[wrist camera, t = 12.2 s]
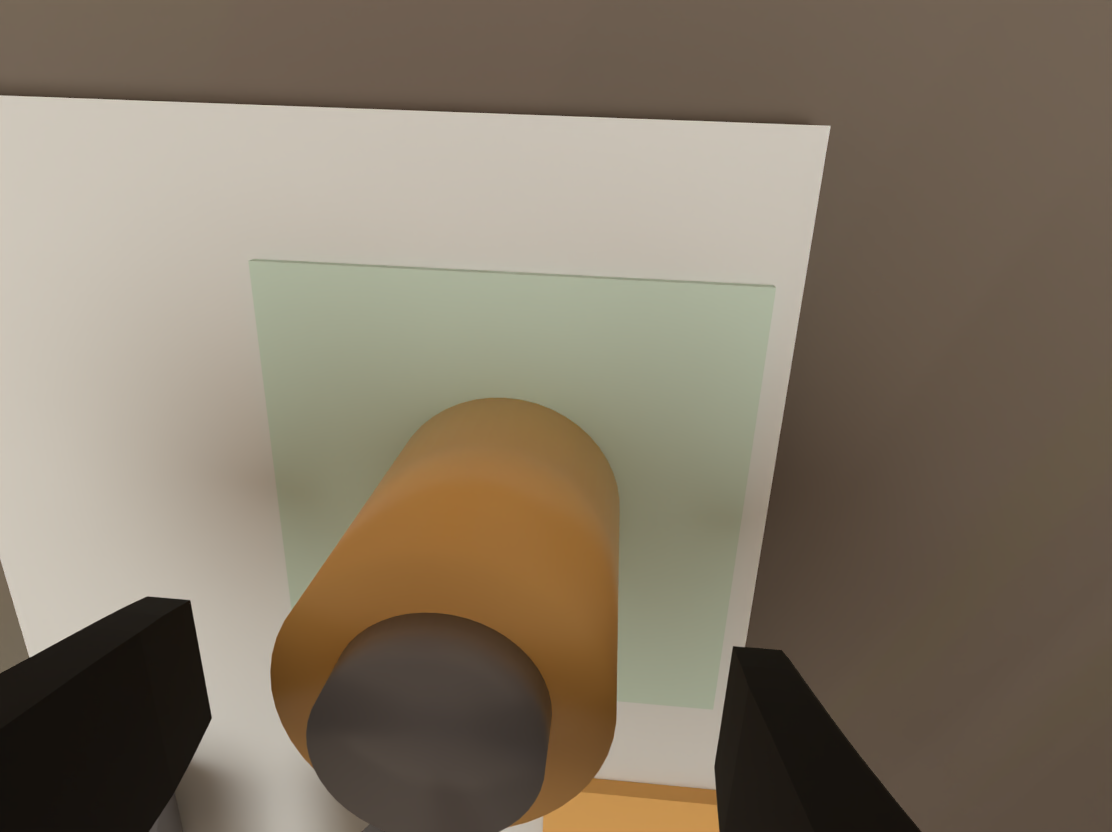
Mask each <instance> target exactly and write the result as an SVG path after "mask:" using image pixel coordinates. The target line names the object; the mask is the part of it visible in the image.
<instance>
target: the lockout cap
mask: <svg viewBox="0 0 1112 832" xmlns="http://www.w3.org/2000/svg"><path fill="white" fill-rule="evenodd" d="M619 515H620V506H619V493H618V487H617V483H616V480H615V477H614V473H613V471H612V469H611V467H610V465H609V462H608V460H607V459H606V457H605V455H604V454H603V452H602V451H601V449H600V448H599V446H598V445H597V444H596V443H595V442H594V441H593V439H592V438H591V437H590V436H589V435H588V434H587V433H586V432H585V431H584V430H582V429H581V428H580V427H579V426H578V425H577V424H575V423H574V422H572V421H571V420H569V419H568V418H567V417H565V416H563V415H561V414H559V413H558V412H556V411H554V410H552V409H549V408H547V407H544V406H542V405H539V404H536V403H532V402H528V401H524V400H519V399H511V398H484V399H476V400H471V401H468V402H464V403H460V404H457V405H455V406H452V407H450V408H448V409H445V410H444V411H442V412H440V413H438V414H437V415H435V416H433V417H432V418H431V419H429V420H428V421H427V422H426V423H424V424H423V425H422V426H421V427H420V428H419V429H418V430H417V431H416V432H415V433H414V434H413V435H412V437H411V438H410V440H409V441H408V442H407V444H406V445H405V447H404V448H403V450H402V451H401V453H400V454H399V455H398V457H397V458H396V460H395V461H394V463H393V464H392V466H391V467H390V468H389V470H388V471H387V473H386V474H385V476H384V477H383V479H382V480H381V481H380V483H379V484H378V486H377V487H376V489H375V490H374V492H373V493H372V495H371V496H370V497H369V499H368V500H367V502H366V503H365V505H364V506H363V508H362V509H361V510H360V512H359V513H358V515H357V516H356V518H355V519H354V521H353V522H352V523H351V525H350V526H349V528H348V529H347V531H346V532H345V534H344V535H343V536H342V538H341V539H340V541H339V542H338V544H337V545H336V547H335V548H334V549H333V551H332V552H331V554H330V555H329V557H328V558H327V560H326V561H325V563H324V564H323V565H322V567H321V568H320V570H319V571H318V573H317V574H316V576H315V577H314V578H313V580H312V581H311V583H310V584H309V586H308V587H307V589H306V590H305V591H304V593H303V594H302V596H301V597H300V599H299V600H298V602H297V603H296V604H295V606H294V607H293V609H292V610H291V612H290V613H289V615H288V616H287V617H286V619H285V620H284V622H283V624H282V627H281V629H280V631H279V633H278V635H277V637H276V641H275V645H274V648H273V652H272V658H271V668H270V678H271V691H272V695H273V699H274V704H275V708H276V710H277V713H278V716H279V718H280V721H281V723H282V726H283V727H284V729H285V731H286V733H287V735H288V736H289V738H290V740H291V742H292V743H293V744H294V746H295V747H296V749H297V750H298V751H299V753H300V754H301V755H302V757H303V758H304V759H305V760H306V761H307V762H308V763H309V764H310V766H311V767H312V768H313V769H314V770H315V772H316V774H317V776H318V778H319V779H320V781H321V782H322V784H323V785H324V786H325V788H326V789H327V791H328V792H329V793H330V794H331V795H332V796H333V797H334V798H335V799H336V800H337V801H338V802H339V803H340V804H341V805H342V806H344V807H345V808H346V809H347V810H348V811H350V812H351V813H353V814H354V815H355V816H357V817H358V818H360V819H361V820H363V821H365V822H367V823H368V824H370V825H372V826H374V827H376V828H379V829H381V830H383V831H385V832H500V831H501V830H503V829H505V828H508V827H512V826H515V825H519V824H523V823H527V822H529V821H532V820H535V819H537V818H540V817H543V816H545V815H547V814H549V813H551V812H552V811H554V810H556V809H558V808H560V807H562V806H563V805H564V804H566V803H567V802H569V801H570V800H571V799H573V798H574V797H576V796H577V795H578V794H579V793H580V792H581V791H582V790H583V789H584V788H585V787H586V786H587V785H588V784H589V783H590V782H591V781H592V779H593V778H594V777H595V775H596V774H597V773H598V772H599V770H600V768H601V767H602V765H603V763H604V761H605V759H606V757H607V756H608V753H609V750H610V747H611V744H612V742H613V739H614V733H615V727H616V719H617V651H618V583H619Z"/></svg>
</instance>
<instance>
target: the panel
mask: <svg viewBox="0 0 1112 832" xmlns="http://www.w3.org/2000/svg"><path fill="white" fill-rule="evenodd" d="M829 132H830V126H820V125H793V124H765V123H738V122H711V121H683V120H656V119H629V118H602V117H574V116H547V115H520V114H492V113H465V112H438V111H411V110H383V109H356V108H329V107H301V106H274V105H247V104H220V103H192V102H165V101H138V100H110V99H83V98H56V97H29V96H1V95H0V559H1V563H2V566H3V569H4V573H5V576H6V580H7V583H8V586H9V590H10V593H11V596H12V600H13V603H14V607H15V610H16V613H17V617H18V620H19V623H20V627H21V630H22V634H23V637H24V640H25V644H26V647H27V650H28V654H29V657H32V656H34V655H35V654H37V653H39V652H41V651H43V650H45V649H46V648H48V647H50V646H52V645H54V644H56V643H57V642H59V641H61V640H63V639H65V638H67V637H68V636H70V635H72V634H74V633H76V632H78V631H80V630H81V629H83V628H85V627H87V626H89V625H91V624H93V623H94V622H96V621H98V620H100V619H102V618H104V617H106V616H108V615H110V614H112V613H114V612H116V611H117V610H119V609H121V608H123V607H126V606H128V605H130V604H132V603H134V602H136V601H138V600H140V599H143V598H145V597H147V596H149V597H161V598H172V599H184V600H190V601H191V606H192V612H193V617H194V623H195V628H196V634H197V639H198V645H199V650H200V655H201V661H202V666H203V672H204V677H205V683H206V688H207V694H208V699H209V705H210V710H211V715H212V719H211V721H210V724H209V726H208V728H207V730H206V732H205V734H204V736H203V738H202V740H201V742H200V744H199V746H198V748H197V750H196V752H195V754H194V756H193V758H192V760H191V762H190V764H189V766H188V768H187V770H186V772H185V774H184V775H183V777H182V779H181V781H180V783H179V785H178V787H177V789H176V791H175V796H176V801H177V805H178V810H179V814H180V819H181V823H182V828H183V832H361V831H363V830H364V829H365V828H366V827H367V826H368V825H369V824H368V823H367V822H365V821H363V820H361V819H360V818H358V817H357V816H355V815H354V814H353V813H351V812H350V811H348V810H347V809H346V808H345V807H344V806H342V805H341V804H340V803H339V802H338V801H337V800H336V799H335V798H334V797H333V796H332V795H331V794H330V793H329V792H328V791H327V789H326V788H325V786H324V785H323V784H322V782H321V781H320V779H319V778H318V776H317V774H316V772H315V770H314V769H313V768H312V767H311V766H310V764H309V763H308V762H307V761H306V760H305V759H304V758H303V757H302V755H301V754H300V753H299V751H298V750H297V749H296V747H295V746H294V744H293V743H292V742H291V740H290V738H289V736H288V735H287V733H286V731H285V729H284V727H283V726H282V723H281V721H280V718H279V716H278V713H277V710H276V708H275V704H274V699H273V695H272V691H271V678H270V668H271V658H272V652H273V648H274V645H275V641H276V637H277V635H278V633H279V631H280V629H281V627H282V624H283V622H284V620H285V619H286V617H287V616H288V615H289V613H290V612H291V610H292V609H293V607H294V606H295V604H296V603H297V602H298V600H299V599H300V597H301V596H302V594H303V593H304V591H305V590H306V589H307V587H308V586H309V584H310V583H311V581H312V580H313V578H314V577H315V576H316V574H317V573H318V571H319V570H320V568H321V567H322V565H323V564H324V563H325V561H326V560H327V558H328V557H329V555H330V554H331V552H332V551H333V549H334V548H335V547H336V545H337V544H338V542H339V541H340V539H341V538H342V536H343V535H344V534H345V532H346V531H347V529H348V528H349V526H350V525H351V523H352V522H353V521H354V519H355V518H356V516H357V515H358V513H359V512H360V510H361V509H362V508H363V506H364V505H365V503H366V502H367V500H368V499H369V497H370V496H371V495H372V493H373V492H374V490H375V489H376V487H377V486H378V484H379V483H380V481H381V480H382V479H383V477H384V476H385V474H386V473H387V471H388V470H389V468H390V467H391V466H392V464H393V463H394V461H395V460H396V458H397V457H398V455H399V454H400V453H401V451H402V450H403V448H404V447H405V445H406V444H407V442H408V441H409V440H410V438H411V437H412V435H413V434H414V433H415V432H416V431H417V430H418V429H419V428H420V427H421V426H422V425H423V424H424V423H426V422H427V421H428V420H429V419H431V418H432V417H433V416H435V415H437V414H438V413H440V412H442V411H444V410H445V409H448V408H450V407H452V406H455V405H457V404H460V403H464V402H468V401H471V400H476V399H484V398H511V399H519V400H524V401H528V402H532V403H536V404H539V405H542V406H544V407H547V408H549V409H552V410H554V411H556V412H558V413H559V414H561V415H563V416H565V417H567V418H568V419H569V420H571V421H572V422H574V423H575V424H577V425H578V426H579V427H580V428H581V429H582V430H584V431H585V432H586V433H587V434H588V435H589V436H590V437H591V438H592V439H593V441H594V442H595V443H596V444H597V445H598V446H599V448H600V449H601V451H602V452H603V454H604V455H605V457H606V459H607V460H608V462H609V465H610V467H611V469H612V471H613V473H614V477H615V480H616V483H617V487H618V493H619V506H620V515H619V583H618V651H617V719H616V727H615V733H614V739H613V742H612V744H611V747H610V750H609V753H608V756H607V757H606V759H605V761H604V763H603V765H602V767H601V768H600V770H599V772H598V773H597V774H596V775H595V777H594V778H593V779H592V781H591V782H590V783H589V784H588V785H587V786H586V787H585V788H584V789H583V790H582V791H581V792H580V793H579V794H578V795H577V796H576V797H574V798H573V799H571V800H570V801H569V802H567V803H566V804H564V805H563V806H562V807H560V808H558V809H556V810H554V811H552V812H551V813H549V814H547V815H545V816H543V817H540V818H537V819H535V820H532V821H529V822H527V823H523V824H519V825H515V826H512V827H508V828H505V829H503V830H501V831H500V832H719V821H718V810H717V797H716V784H715V771H714V765H715V758H716V752H717V745H718V739H719V733H720V726H721V720H722V713H723V707H724V700H725V694H726V687H727V681H728V675H729V668H730V662H731V655H732V649H733V646H737V647H745V644H746V638H747V632H748V626H749V620H750V614H751V608H752V602H753V596H754V589H755V583H756V577H757V571H758V565H759V559H760V553H761V547H762V541H763V534H764V528H765V522H766V516H767V510H768V504H769V498H770V492H771V486H772V480H773V473H774V467H775V461H776V455H777V449H778V443H779V437H780V431H781V425H782V419H783V412H784V406H785V400H786V394H787V388H788V382H789V376H790V370H791V364H792V358H793V351H794V345H795V339H796V333H797V327H798V321H799V315H800V309H801V303H802V297H803V290H804V284H805V278H806V272H807V266H808V260H809V254H810V248H811V242H812V236H813V229H814V223H815V217H816V211H817V205H818V199H819V193H820V187H821V181H822V174H823V168H824V162H825V156H826V150H827V144H828V138H829Z"/></svg>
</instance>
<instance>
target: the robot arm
mask: <svg viewBox="0 0 1112 832" xmlns="http://www.w3.org/2000/svg"><path fill="white" fill-rule="evenodd" d="M211 719H212V715H211V710H210V705H209V699H208V694H207V688H206V683H205V677H204V672H203V666H202V661H201V655H200V650H199V645H198V639H197V634H196V628H195V623H194V617H193V612H192V606H191V601H190V600H184V599H172V598H161V597H149V596H147V597H145V598H143V599H140V600H138V601H136V602H134V603H132V604H130V605H128V606H126V607H123V608H121V609H119V610H117V611H116V612H114V613H112V614H110V615H108V616H106V617H104V618H102V619H100V620H98V621H96V622H94V623H93V624H91V625H89V626H87V627H85V628H83V629H81V630H80V631H78V632H76V633H74V634H72V635H70V636H68V637H67V638H65V639H63V640H61V641H59V642H57V643H56V644H54V645H52V646H50V647H48V648H46V649H45V650H43V651H41V652H39V653H37V654H35V655H34V656H32V657H30V658H28V659H26V660H24V661H23V662H21V663H19V664H17V665H15V666H13V667H11V668H10V669H8V670H6V671H4V672H2V673H0V832H149V831H150V829H151V828H152V826H153V825H154V823H155V822H156V820H157V819H158V817H159V816H160V814H161V813H162V811H163V810H164V808H165V807H166V805H167V803H168V802H169V800H170V799H171V797H172V796H173V794H174V792H175V791H176V789H177V787H178V785H179V783H180V781H181V779H182V777H183V775H184V774H185V772H186V770H187V768H188V766H189V764H190V762H191V760H192V758H193V756H194V754H195V752H196V750H197V748H198V746H199V744H200V742H201V740H202V738H203V736H204V734H205V732H206V730H207V728H208V726H209V724H210V721H211ZM714 771H715V784H716V797H717V810H718V821H719V832H921V831H920V830H919V828H918V827H917V826H916V825H915V824H914V822H913V821H912V820H911V819H910V818H909V816H908V815H907V814H906V813H905V812H904V810H903V809H902V808H901V807H900V806H899V804H898V803H897V802H896V801H895V799H894V798H893V797H892V796H891V794H890V793H889V792H888V791H887V789H886V788H885V787H884V785H883V784H882V783H881V782H880V780H879V779H878V778H877V777H876V775H875V774H874V773H873V772H872V770H871V769H870V768H869V767H868V765H867V764H866V763H865V762H864V760H863V759H862V758H861V757H860V755H859V754H858V753H857V751H856V750H855V749H854V747H853V746H852V745H851V743H850V742H849V741H848V740H847V738H846V737H845V736H844V734H843V733H842V732H841V730H840V729H839V728H838V726H837V725H836V723H835V722H834V721H833V719H832V718H831V717H830V715H829V714H828V713H827V711H826V710H825V709H824V707H823V706H822V704H821V703H820V702H819V700H818V699H817V698H816V696H815V695H814V693H813V692H812V691H811V689H810V688H809V686H808V685H807V684H806V682H805V681H804V679H803V678H802V677H801V675H800V674H799V672H798V671H797V669H796V668H795V667H794V665H793V664H792V662H791V661H790V660H789V658H788V657H787V656H786V655H785V654H784V653H783V651H782V650H772V649H761V648H749V647H737V646H733V649H732V655H731V662H730V668H729V675H728V681H727V687H726V694H725V700H724V707H723V713H722V720H721V726H720V733H719V739H718V745H717V752H716V758H715V765H714Z"/></svg>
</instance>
